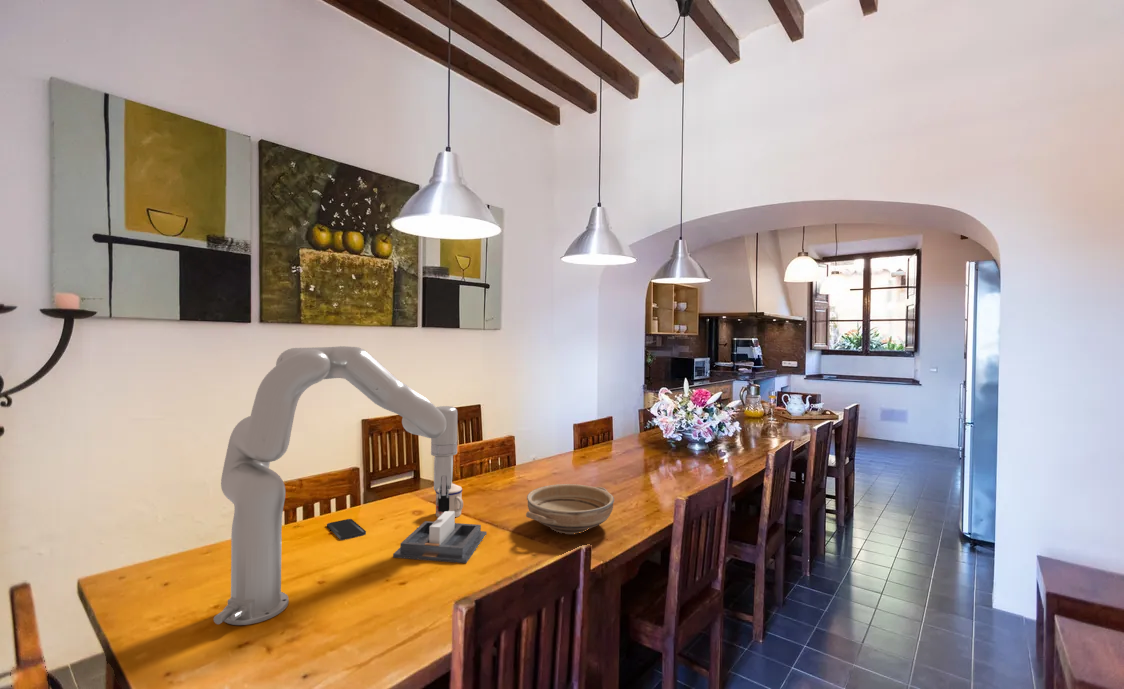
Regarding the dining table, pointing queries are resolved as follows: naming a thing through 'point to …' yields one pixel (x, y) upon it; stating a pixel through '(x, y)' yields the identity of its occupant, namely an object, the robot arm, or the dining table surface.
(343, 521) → the phone
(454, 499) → the teacup with lid
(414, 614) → the dining table surface
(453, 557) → the rack
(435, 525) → the panel
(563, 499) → the ceramic bowl
